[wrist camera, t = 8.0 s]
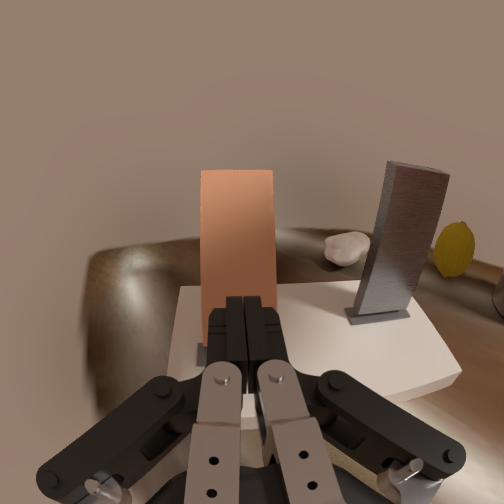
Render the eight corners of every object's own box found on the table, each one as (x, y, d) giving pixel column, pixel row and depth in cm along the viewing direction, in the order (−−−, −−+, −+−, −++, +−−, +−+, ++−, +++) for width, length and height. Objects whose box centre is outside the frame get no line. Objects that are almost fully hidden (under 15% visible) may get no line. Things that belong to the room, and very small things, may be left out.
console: (392, 292, 28) (398, 276, 27) (450, 385, 17) (463, 369, 16) (183, 302, 26) (180, 284, 25) (168, 429, 15) (160, 414, 14)
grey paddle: (400, 300, 23) (440, 169, 17) (406, 308, 22) (449, 174, 16) (353, 305, 22) (387, 160, 16) (358, 314, 21) (396, 165, 15)
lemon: (466, 282, 30) (487, 229, 26) (449, 294, 28) (472, 235, 24) (439, 262, 34) (456, 211, 30) (418, 270, 32) (437, 214, 28)
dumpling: (370, 277, 31) (378, 247, 29) (328, 277, 31) (335, 246, 29) (352, 247, 37) (358, 220, 35) (315, 246, 37) (320, 218, 35)
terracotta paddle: (274, 340, 20) (269, 176, 21) (277, 343, 19) (272, 170, 20) (204, 342, 19) (202, 176, 20) (203, 346, 18) (201, 170, 19)
